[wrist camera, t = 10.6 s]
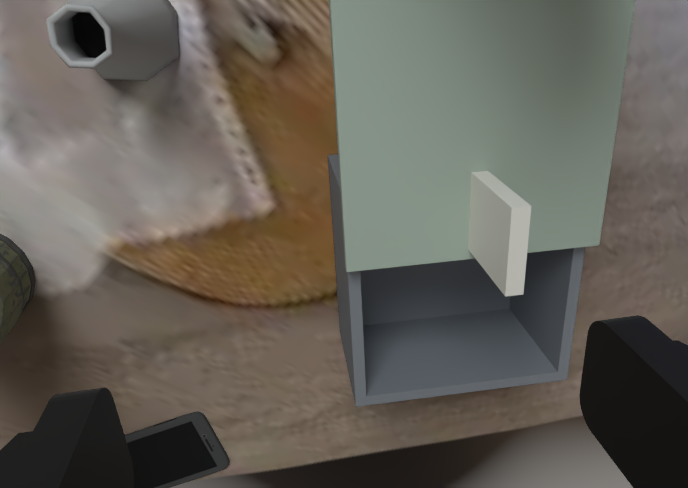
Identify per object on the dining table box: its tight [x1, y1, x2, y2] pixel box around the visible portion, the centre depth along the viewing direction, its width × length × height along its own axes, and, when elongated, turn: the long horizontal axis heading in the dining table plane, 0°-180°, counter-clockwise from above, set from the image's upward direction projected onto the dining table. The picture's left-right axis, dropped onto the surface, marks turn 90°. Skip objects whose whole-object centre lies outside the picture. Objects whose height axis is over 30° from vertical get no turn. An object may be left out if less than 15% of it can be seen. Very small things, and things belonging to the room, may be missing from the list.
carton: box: [328, 154, 585, 407], centre depth 42 cm, size 16×16×10 cm
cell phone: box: [124, 412, 229, 488], centre depth 53 cm, size 7×14×1 cm, turn 108°
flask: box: [46, 0, 179, 81], centre depth 33 cm, size 7×7×10 cm
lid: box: [329, 0, 636, 297], centre depth 29 cm, size 16×16×7 cm
